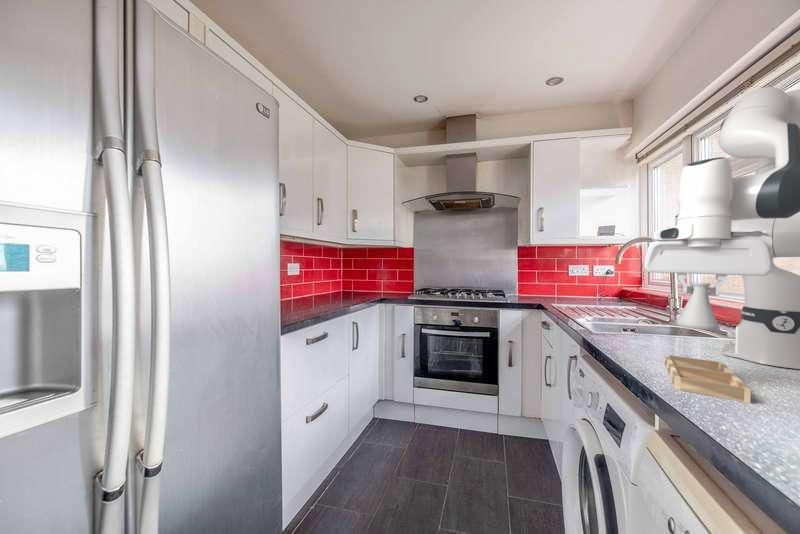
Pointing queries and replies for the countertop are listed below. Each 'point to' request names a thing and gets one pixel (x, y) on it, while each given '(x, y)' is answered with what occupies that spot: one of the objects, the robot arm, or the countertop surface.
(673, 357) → the oak caddy
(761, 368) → the countertop surface
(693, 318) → the flask
